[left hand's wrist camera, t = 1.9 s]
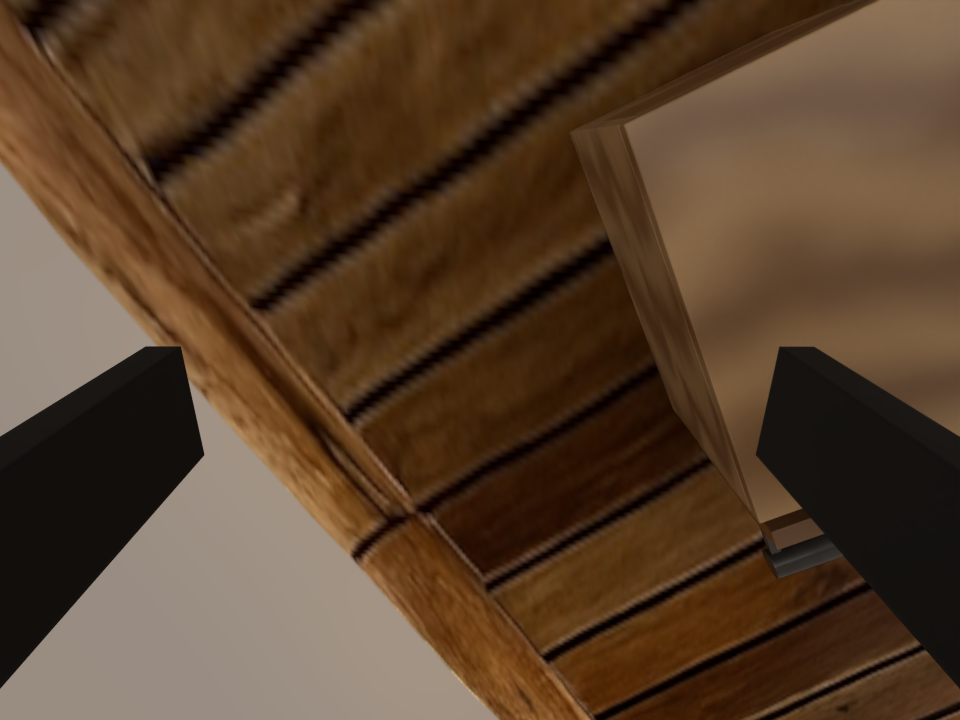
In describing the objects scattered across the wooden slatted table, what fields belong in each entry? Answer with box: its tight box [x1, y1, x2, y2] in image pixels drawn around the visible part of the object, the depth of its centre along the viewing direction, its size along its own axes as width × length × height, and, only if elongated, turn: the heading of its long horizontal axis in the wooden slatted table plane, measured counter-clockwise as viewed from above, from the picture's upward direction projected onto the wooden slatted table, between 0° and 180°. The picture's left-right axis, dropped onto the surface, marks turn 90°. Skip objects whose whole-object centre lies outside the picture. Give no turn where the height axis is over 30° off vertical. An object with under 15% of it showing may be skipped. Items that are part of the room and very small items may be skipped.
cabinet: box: [569, 0, 960, 523], centre depth 26 cm, size 18×11×12 cm, turn 25°
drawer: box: [698, 442, 844, 579], centre depth 28 cm, size 23×10×10 cm, turn 25°
